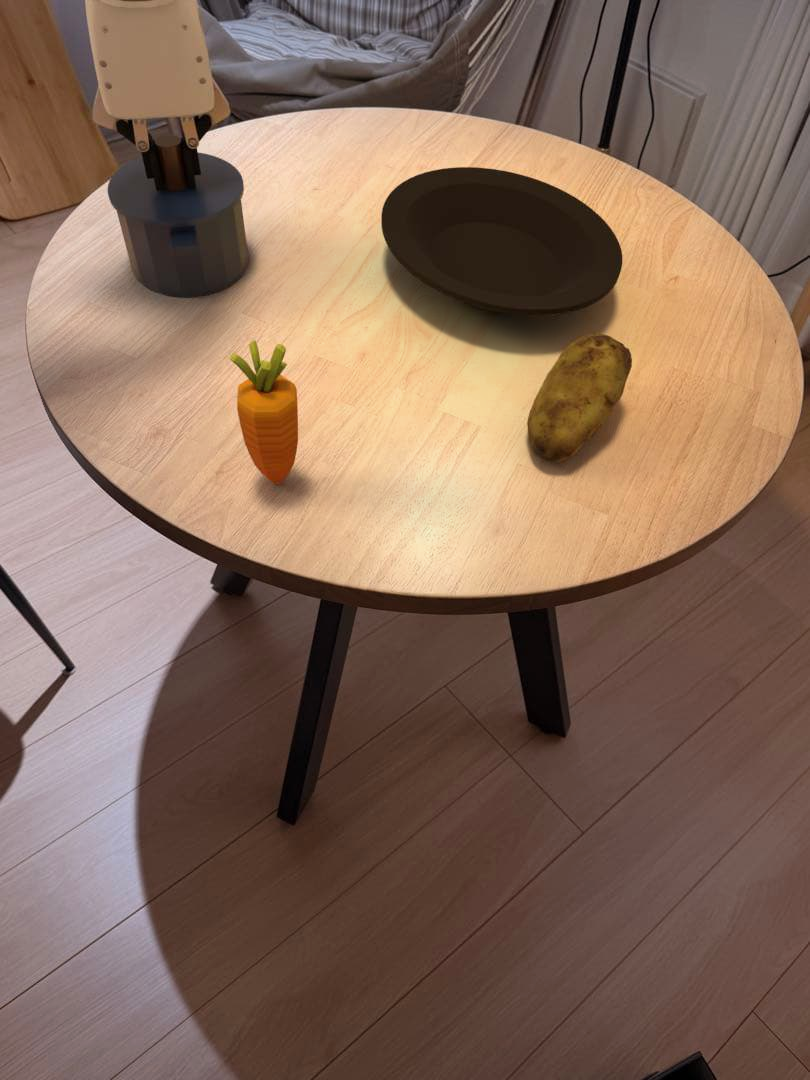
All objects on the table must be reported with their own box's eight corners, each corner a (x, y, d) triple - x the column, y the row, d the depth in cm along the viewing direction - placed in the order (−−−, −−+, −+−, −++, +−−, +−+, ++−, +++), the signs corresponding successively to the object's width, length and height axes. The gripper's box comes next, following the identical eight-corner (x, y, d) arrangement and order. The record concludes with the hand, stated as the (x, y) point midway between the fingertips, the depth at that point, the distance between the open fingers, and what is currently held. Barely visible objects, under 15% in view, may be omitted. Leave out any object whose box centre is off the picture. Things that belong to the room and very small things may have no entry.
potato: (488, 430, 75) (501, 365, 68) (578, 374, 80) (597, 309, 74) (552, 483, 71) (572, 419, 65) (642, 420, 76) (668, 356, 70)
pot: (135, 319, 82) (115, 245, 75) (130, 222, 92) (112, 150, 85) (257, 306, 84) (248, 234, 77) (239, 213, 94) (230, 142, 87)
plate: (655, 300, 88) (672, 256, 84) (502, 388, 78) (511, 343, 74) (485, 189, 100) (491, 146, 96) (334, 253, 90) (333, 207, 86)
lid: (111, 238, 77) (95, 182, 72) (109, 166, 84) (95, 111, 80) (252, 226, 79) (245, 171, 74) (237, 157, 87) (230, 104, 82)
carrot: (239, 496, 68) (215, 361, 56) (262, 456, 71) (243, 320, 59) (293, 510, 68) (279, 377, 56) (313, 470, 71) (305, 335, 59)
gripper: (228, -48, 69) (250, 158, 84) (35, -43, 67) (93, 169, 81) (238, -15, 65) (259, 196, 80) (31, -9, 62) (93, 209, 77)
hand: (175, 181), depth 80 cm, fingers closed on lid, 2 cm apart
